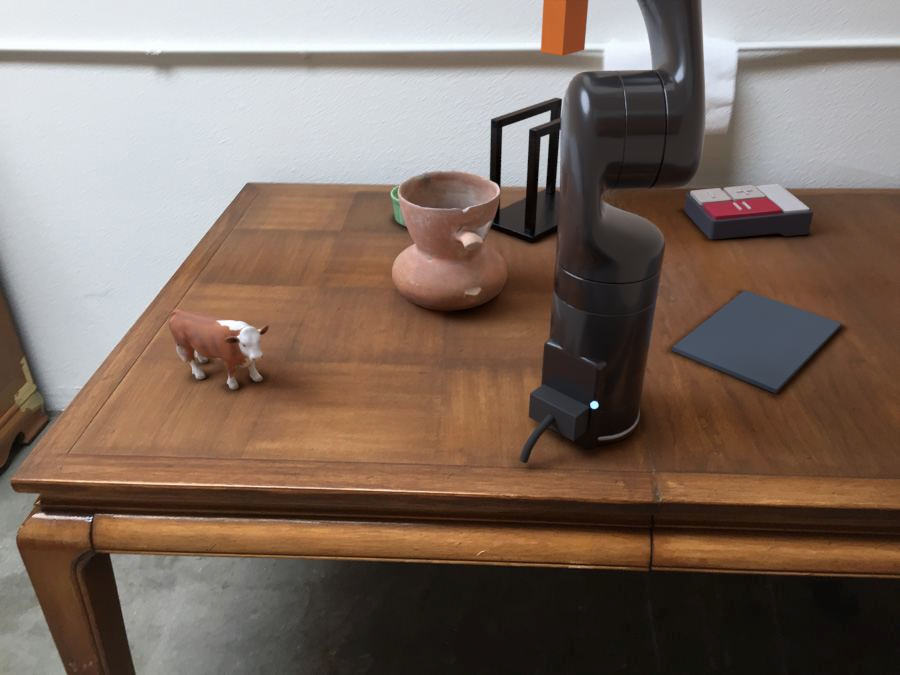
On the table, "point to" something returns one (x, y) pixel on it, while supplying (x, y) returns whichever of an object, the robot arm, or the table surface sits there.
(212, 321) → the bull figurine
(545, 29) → the orange block with crossbar
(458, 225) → the ceramic jug
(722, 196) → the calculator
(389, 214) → the table surface
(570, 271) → the robot arm
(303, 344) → the table surface
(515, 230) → the rack
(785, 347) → the mat
